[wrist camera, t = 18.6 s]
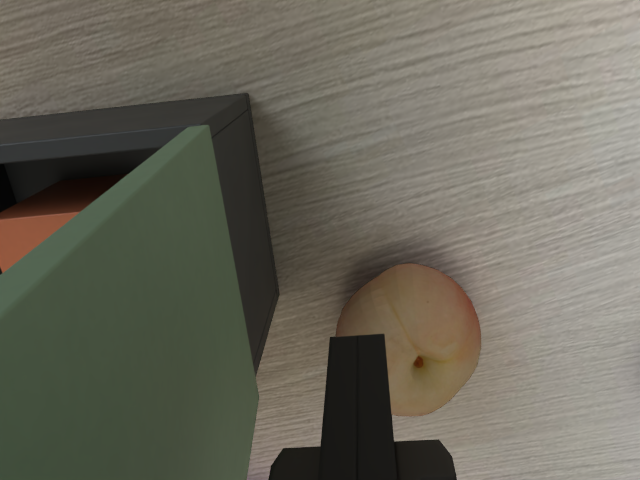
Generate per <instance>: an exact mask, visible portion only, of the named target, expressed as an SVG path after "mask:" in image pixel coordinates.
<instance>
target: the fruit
mask: <svg viewBox="0 0 640 480" xmlns="http://www.w3.org/2000/svg"><path fill="white" fill-rule="evenodd" d="M371 334H385V345H386V357H387V368H388V380H389V391H390V403H391V414H392V415H396V416H422V415H426V414H429V413H432V412H433V411H435V410H437V409H439V408H441V407H442V406H443V405H445V404H446V403H447V402H448V401H450V400H451V399H452V398H453V397H454V395H455V394H456V393H457V392H458V391H459V390H460V389H461V387H462V386H463V385H464V384H465V383H466V382H467V381H468V380H469V378H470V377H471V375H472V374H473V372H474V370H475V368H476V366H477V364H478V359H479V354H480V350H481V331H480V326H479V321H478V317H477V314H476V312H475V309H474V307H473V304H472V302H471V300H470V299H469V297H468V296H467V295H466V293H465V292H464V291H463V289H462V288H461V287H460V286H459V285H458V284H457V283H456V282H455V281H454V280H453V279H451V278H450V277H449V276H447V275H445V274H444V273H442V272H440V271H438V270H436V269H433V268H430V267H427V266H424V265H419V264H412V263H407V264H399V265H395V266H393V267H391V268H389V269H387V270H386V271H384V272H383V273H382V274H380V275H379V276H377V277H376V278H374V279H373V280H371V281H370V282H368V283H367V284H365V285H364V286H363V287H362V288H360V289H359V290H358V291H357V292H356V293H355V294H354V295H353V296H352V297H351V298H350V300H349V301H348V302H347V304H346V305H345V306H344V308H343V310H342V312H341V315H340V317H339V320H338V323H337V329H336V337H341V336H356V335H371Z"/></svg>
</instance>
